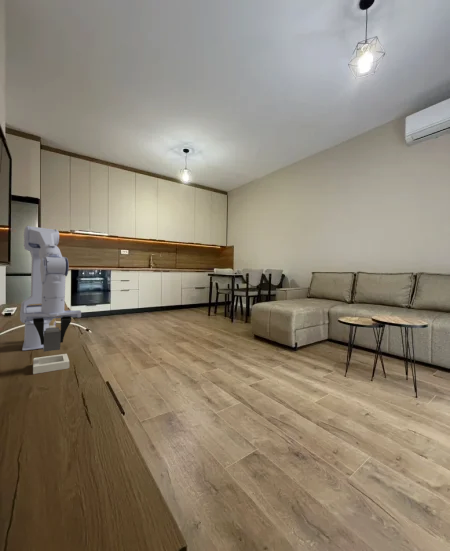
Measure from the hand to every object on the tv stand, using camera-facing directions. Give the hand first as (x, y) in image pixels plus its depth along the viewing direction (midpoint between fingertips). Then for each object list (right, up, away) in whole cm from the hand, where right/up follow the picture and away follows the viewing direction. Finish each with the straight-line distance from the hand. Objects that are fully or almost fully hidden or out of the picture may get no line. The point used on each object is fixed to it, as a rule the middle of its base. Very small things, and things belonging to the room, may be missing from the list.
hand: (51, 342), depth 75 cm
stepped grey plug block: (0, -2, 0) cm, 2 cm away
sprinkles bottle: (-20, -7, +27) cm, 34 cm away
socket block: (0, -7, 0) cm, 7 cm away
